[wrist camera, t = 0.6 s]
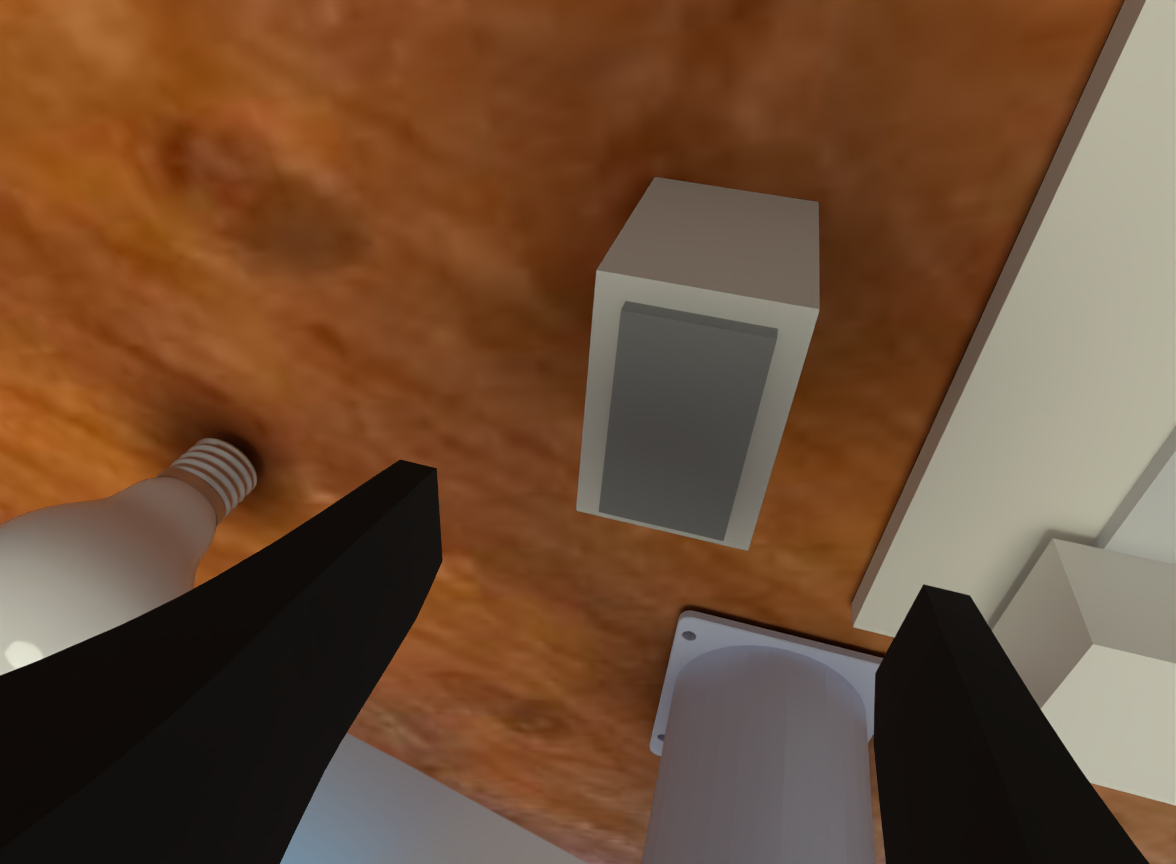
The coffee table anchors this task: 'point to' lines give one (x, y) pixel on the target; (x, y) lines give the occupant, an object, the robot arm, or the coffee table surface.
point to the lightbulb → (113, 553)
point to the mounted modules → (1101, 661)
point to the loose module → (697, 357)
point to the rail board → (1061, 363)
